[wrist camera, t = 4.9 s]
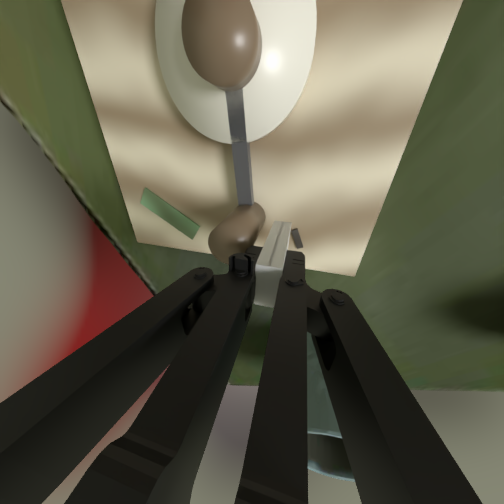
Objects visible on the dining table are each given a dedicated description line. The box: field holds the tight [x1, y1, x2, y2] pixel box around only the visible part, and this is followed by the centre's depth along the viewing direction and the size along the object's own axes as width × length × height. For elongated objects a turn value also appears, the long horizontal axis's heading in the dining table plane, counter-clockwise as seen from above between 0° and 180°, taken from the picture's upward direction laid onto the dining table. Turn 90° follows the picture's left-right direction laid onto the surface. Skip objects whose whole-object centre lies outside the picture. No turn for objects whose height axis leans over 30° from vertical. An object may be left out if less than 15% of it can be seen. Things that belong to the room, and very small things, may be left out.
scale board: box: [61, 0, 463, 276], centre depth 16 cm, size 24×25×2 cm
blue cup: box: [307, 332, 355, 482], centre depth 23 cm, size 10×10×12 cm
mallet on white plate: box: [155, 0, 317, 264], centre depth 12 cm, size 18×10×6 cm, turn 5°
